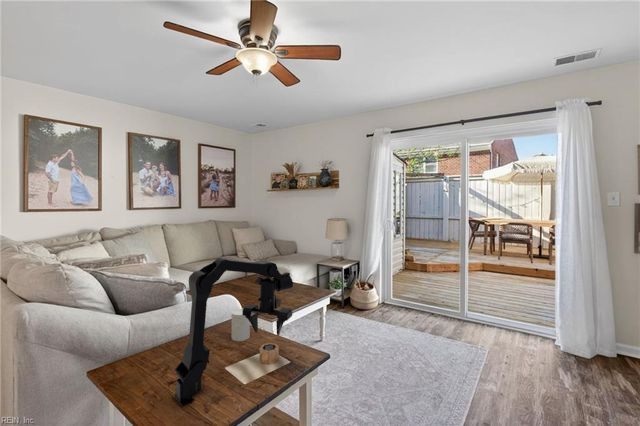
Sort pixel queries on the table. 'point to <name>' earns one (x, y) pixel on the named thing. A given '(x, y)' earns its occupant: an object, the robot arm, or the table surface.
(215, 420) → the table surface
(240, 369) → the duct base
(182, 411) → the table surface
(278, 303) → the robot arm
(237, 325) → the cup
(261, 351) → the sleeve
